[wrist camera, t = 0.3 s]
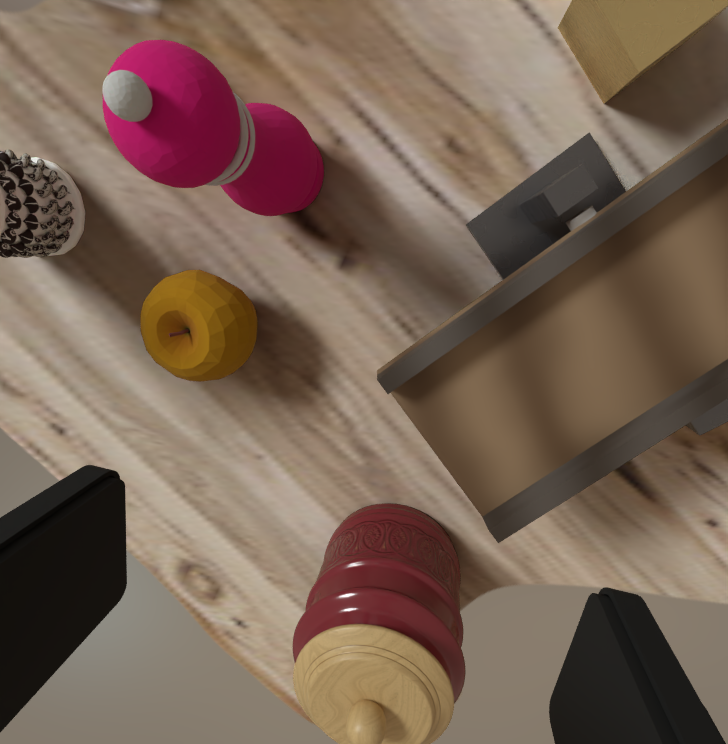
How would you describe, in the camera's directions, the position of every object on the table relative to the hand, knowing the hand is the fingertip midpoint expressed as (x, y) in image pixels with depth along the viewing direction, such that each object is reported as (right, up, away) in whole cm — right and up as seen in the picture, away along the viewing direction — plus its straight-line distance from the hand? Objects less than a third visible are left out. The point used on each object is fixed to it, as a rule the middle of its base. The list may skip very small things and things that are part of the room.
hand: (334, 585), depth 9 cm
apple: (-11, +9, +32) cm, 35 cm away
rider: (+18, +27, +21) cm, 39 cm away
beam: (+17, +8, +18) cm, 26 cm away
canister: (+4, -14, +36) cm, 39 cm away
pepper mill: (-6, +20, +27) cm, 35 cm away
